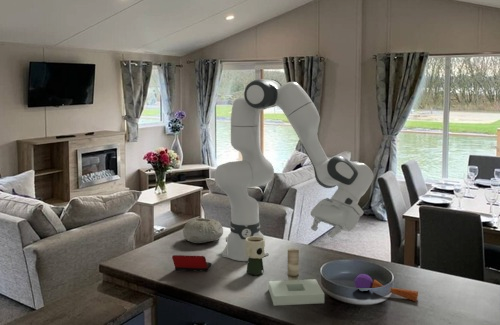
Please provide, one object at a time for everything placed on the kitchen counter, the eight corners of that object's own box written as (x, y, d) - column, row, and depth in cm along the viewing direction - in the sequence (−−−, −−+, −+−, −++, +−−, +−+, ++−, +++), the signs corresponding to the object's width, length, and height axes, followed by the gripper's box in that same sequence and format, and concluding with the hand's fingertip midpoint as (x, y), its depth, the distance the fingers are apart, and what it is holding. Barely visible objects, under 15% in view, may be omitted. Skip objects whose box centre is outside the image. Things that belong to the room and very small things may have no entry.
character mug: (256, 280, 167) (255, 244, 165) (239, 276, 171) (238, 241, 169) (270, 270, 176) (270, 236, 174) (254, 266, 180) (254, 233, 178)
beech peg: (286, 281, 166) (286, 248, 164) (297, 281, 166) (297, 248, 164) (288, 286, 162) (288, 252, 160) (299, 285, 162) (299, 252, 160)
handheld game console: (211, 265, 183) (211, 246, 181) (205, 276, 172) (205, 256, 171) (180, 263, 184) (179, 245, 183) (172, 274, 174) (171, 255, 172)
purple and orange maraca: (416, 293, 146) (352, 278, 155) (414, 309, 148) (351, 293, 157) (419, 283, 151) (357, 268, 160) (417, 299, 153) (356, 283, 162)
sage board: (268, 289, 159) (268, 281, 159) (315, 287, 161) (315, 279, 160) (273, 305, 147) (273, 296, 147) (324, 303, 149) (324, 294, 148)
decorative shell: (208, 232, 224) (208, 212, 222) (231, 241, 210) (231, 219, 209) (175, 240, 212) (175, 218, 211) (198, 250, 199) (197, 227, 197)
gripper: (320, 192, 178) (298, 221, 175) (358, 203, 161) (335, 235, 157) (329, 202, 181) (308, 230, 178) (367, 213, 164) (345, 245, 160)
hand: (321, 233), depth 167 cm, fingers open, 8 cm apart
